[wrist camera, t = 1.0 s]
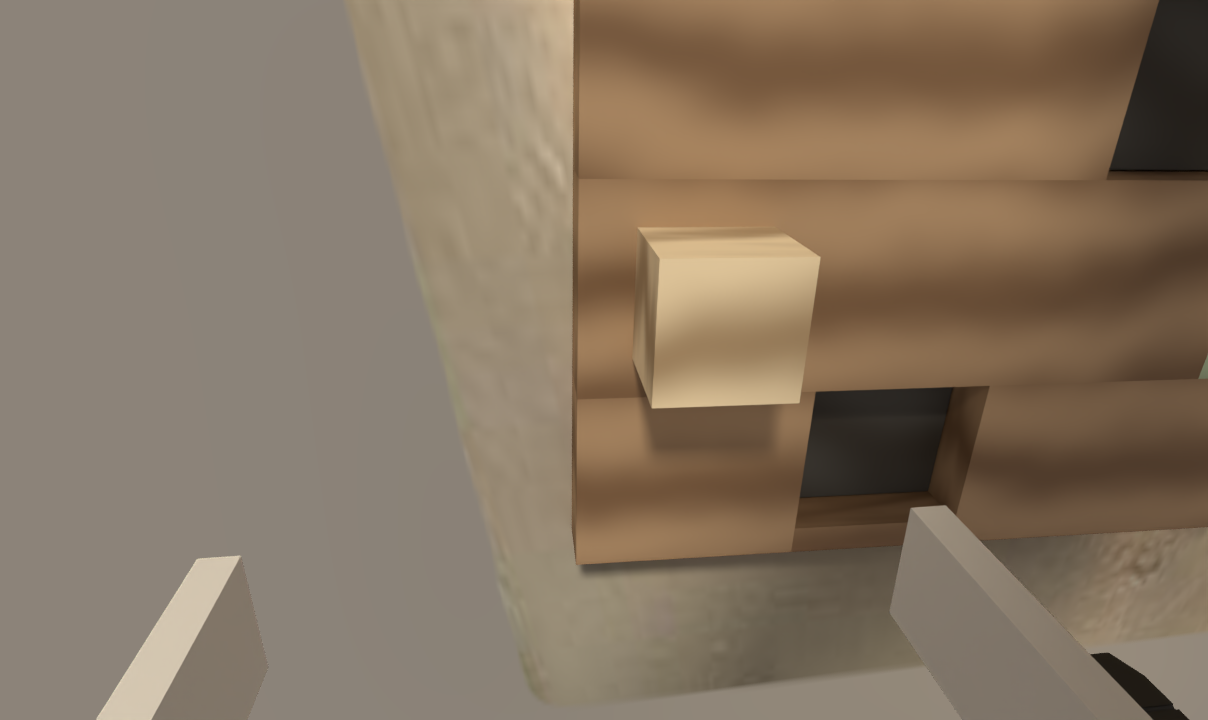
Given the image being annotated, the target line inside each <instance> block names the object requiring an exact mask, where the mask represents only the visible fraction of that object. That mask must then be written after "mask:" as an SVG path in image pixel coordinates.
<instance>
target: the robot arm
mask: <svg viewBox="0 0 1208 720" xmlns="http://www.w3.org/2000/svg"><path fill="white" fill-rule="evenodd" d="M889 613H890V614H891V616H892V617H893V619H894V620H895V622H896V623H897V625H898V626H899V627H900V629H901V630H902V632H903V633H904V635H905V636H906V638H907V639H908V641H909V642H910V644H911V645H912V647H913V648H914V650H915V651H916V653H917V654H918V655H919V657H920V658H921V660H922V661H923V663H924V664H925V666H926V667H927V669H928V670H929V672H930V673H931V675H932V676H933V678H934V679H935V680H936V682H937V683H938V685H939V686H940V688H941V689H942V691H943V692H944V694H945V695H946V697H947V698H948V699H949V701H950V702H951V704H952V705H953V707H954V709H955V710H956V711H957V713H958V714H959V715H960V717H961V719H962V720H1189V719H1188V718H1187V717H1186V716H1185V715H1184V714H1183V713H1182V712H1181V711H1180V710H1175V709H1174V707H1173V703H1171V701H1169V700H1168V699H1167V698H1166V696H1165V695H1163V694H1162V693H1161V692H1160V691H1159V690H1158V689H1157V688H1156V687H1155V686H1154V685H1153V684H1152V683H1151V682H1150V681H1149V680H1148V679H1147V678H1146V677H1145V676H1144V675H1142V674H1141V673H1139V672H1138V671H1136V670H1135V669H1133V668H1131V667H1130V666H1128V665H1127V664H1125V663H1124V662H1122V661H1121V660H1119V659H1118V658H1116V657H1114V656H1113V655H1111V654H1110V653H1099V654H1089V653H1088V652H1087V651H1086V650H1085V649H1084V648H1083V647H1082V646H1081V645H1080V644H1079V643H1078V642H1077V640H1076V639H1075V638H1074V637H1073V636H1072V635H1071V634H1070V633H1069V632H1068V631H1067V630H1066V629H1065V628H1064V627H1063V626H1062V625H1061V624H1060V623H1059V622H1058V621H1057V620H1056V619H1055V618H1054V617H1053V616H1052V615H1051V614H1050V613H1049V612H1048V611H1047V609H1046V608H1045V607H1044V606H1043V605H1042V604H1041V603H1040V602H1039V601H1038V600H1037V599H1036V598H1035V597H1034V596H1033V595H1032V594H1031V593H1030V592H1029V591H1028V590H1027V589H1026V588H1025V587H1024V586H1023V585H1022V584H1021V583H1020V582H1019V581H1018V579H1017V578H1016V577H1015V576H1014V575H1013V574H1012V573H1011V572H1010V571H1009V570H1008V569H1007V568H1006V567H1005V566H1004V565H1003V564H1002V563H1001V562H1000V561H999V560H998V559H997V558H996V557H995V556H994V555H993V554H992V553H991V552H990V551H989V550H988V548H987V547H986V546H985V545H984V544H983V543H982V542H981V541H980V540H979V539H978V538H977V537H976V536H975V535H974V534H973V533H972V532H971V531H970V530H969V529H968V528H967V527H966V526H965V525H964V524H963V523H962V522H961V521H960V520H959V518H958V517H957V516H956V515H955V514H954V513H953V512H952V511H951V510H950V509H949V508H948V507H947V506H946V505H943V506H929V507H915V508H911V509H910V514H909V519H908V523H907V528H906V533H905V538H904V543H903V548H902V553H901V558H900V563H899V567H898V572H897V577H896V582H895V587H894V592H893V597H892V602H891V606H890V611H889ZM267 669H268V664H267V660H266V656H265V651H264V648H263V643H262V639H261V636H260V631H259V627H258V624H257V619H256V615H255V611H254V607H253V603H252V599H251V595H250V591H249V586H248V583H247V578H246V574H245V571H244V566H243V562H242V558H241V556H229V557H215V558H203V559H202V558H201V559H197V560H196V562H195V563H194V565H193V566H192V568H191V570H190V572H189V573H188V574H187V576H186V578H185V579H184V581H183V582H182V584H181V585H180V587H179V589H178V590H177V592H176V593H175V595H174V597H173V598H172V600H171V602H170V603H169V605H168V606H167V608H166V609H165V611H164V612H163V614H162V616H161V617H160V619H159V620H158V622H157V624H156V625H155V627H154V628H153V630H152V631H151V633H150V635H149V636H148V638H147V639H146V641H145V643H144V644H143V646H142V647H141V649H140V651H139V652H138V654H137V655H136V657H135V659H134V660H133V662H132V663H131V665H130V667H129V668H128V670H127V671H126V673H125V674H124V676H123V678H122V679H121V681H120V683H119V684H118V685H117V687H116V689H115V690H114V692H113V694H112V695H111V697H110V698H109V700H108V701H107V703H106V705H105V706H104V708H103V709H102V711H101V713H100V714H99V716H98V717H97V719H96V720H247V719H248V716H249V714H250V711H251V709H252V707H253V704H254V702H255V699H256V696H257V694H258V692H259V689H260V687H261V684H262V682H263V679H264V677H265V674H266V672H267Z"/></svg>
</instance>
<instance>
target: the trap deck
mask: <svg viewBox="0 0 1208 720" xmlns="http://www.w3.org/2000/svg"><path fill="white" fill-rule="evenodd" d="M1128 170H1208V0H574V71H573V359H572V534H573V542H574V550H575V559H576V565H580V564H597V563H613V562H630V561H647V560H663V559H680V558H697V557H713V556H730V555H747V554H764V553H780V552H797V551H814V550H830V549H847V548H864V547H881V546H897V545H903V543H904V538H905V533H906V528H907V523H908V519H909V514H910V509H911V508H915V507H929V506H943V505H946V506H947V507H948V508H949V509H950V510H951V511H952V512H953V513H954V514H955V515H956V516H957V517H958V518H959V520H960V521H961V522H962V523H963V524H964V525H965V526H966V527H967V528H968V529H969V530H970V531H971V532H972V533H973V534H974V535H975V536H976V537H977V538H978V539H979V540H980V541H981V540H997V539H1014V538H1031V537H1048V536H1064V535H1081V534H1098V533H1114V532H1131V531H1148V530H1165V529H1181V528H1198V527H1208V171H1128ZM638 227H776V228H778V229H779V230H781V231H782V232H784V233H785V234H787V235H788V236H790V237H791V238H793V239H794V240H796V241H797V242H799V243H800V244H802V245H803V246H805V247H806V248H808V249H809V250H811V251H812V252H814V253H815V254H817V255H818V256H820V257H821V258H820V265H819V272H818V278H817V285H816V292H815V299H814V306H813V313H812V320H811V327H810V334H809V340H808V347H807V354H806V361H805V368H804V375H803V382H802V389H801V396H800V402H799V403H794V404H766V405H737V406H709V407H680V408H651V405H650V403H649V400H648V397H647V395H646V392H645V390H644V387H643V385H642V382H641V379H640V377H639V374H638V372H637V369H636V366H635V364H634V361H633V359H632V354H633V329H634V304H635V279H636V254H637V229H638Z"/></svg>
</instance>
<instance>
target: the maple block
mask: <svg viewBox="0 0 1208 720" xmlns="http://www.w3.org/2000/svg"><path fill="white" fill-rule="evenodd" d="M820 258H821V257H820V256H818V255H817V254H815V253H814V252H812V251H811V250H809V249H808V248H806V247H805V246H803V245H802V244H800V243H799V242H797V241H796V240H794V239H793V238H791V237H790V236H788V235H787V234H785V233H784V232H782V231H781V230H779V229H778V228H776V227H638V229H637V254H636V279H635V304H634V329H633V354H632V359H633V361H634V364H635V366H636V369H637V372H638V374H639V377H640V379H641V382H642V385H643V387H644V390H645V392H646V395H647V397H648V400H649V403H650V405H651V408H680V407H709V406H737V405H766V404H794V403H799V402H800V396H801V389H802V382H803V375H804V368H805V361H806V354H807V347H808V340H809V334H810V327H811V320H812V313H813V306H814V299H815V292H816V285H817V278H818V272H819V265H820Z"/></svg>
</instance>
